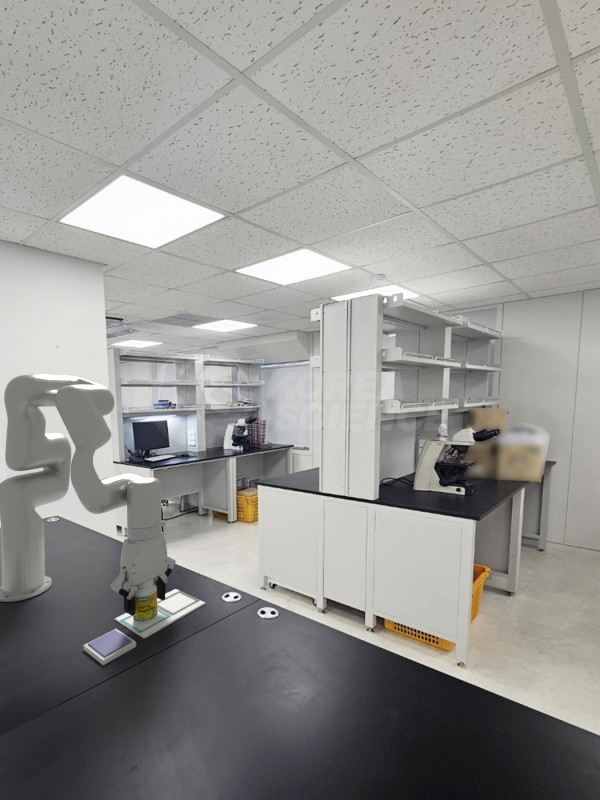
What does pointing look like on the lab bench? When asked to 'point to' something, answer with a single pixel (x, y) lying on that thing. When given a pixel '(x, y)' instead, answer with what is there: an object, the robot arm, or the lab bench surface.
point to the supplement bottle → (145, 602)
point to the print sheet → (163, 613)
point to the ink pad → (109, 646)
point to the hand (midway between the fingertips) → (145, 605)
